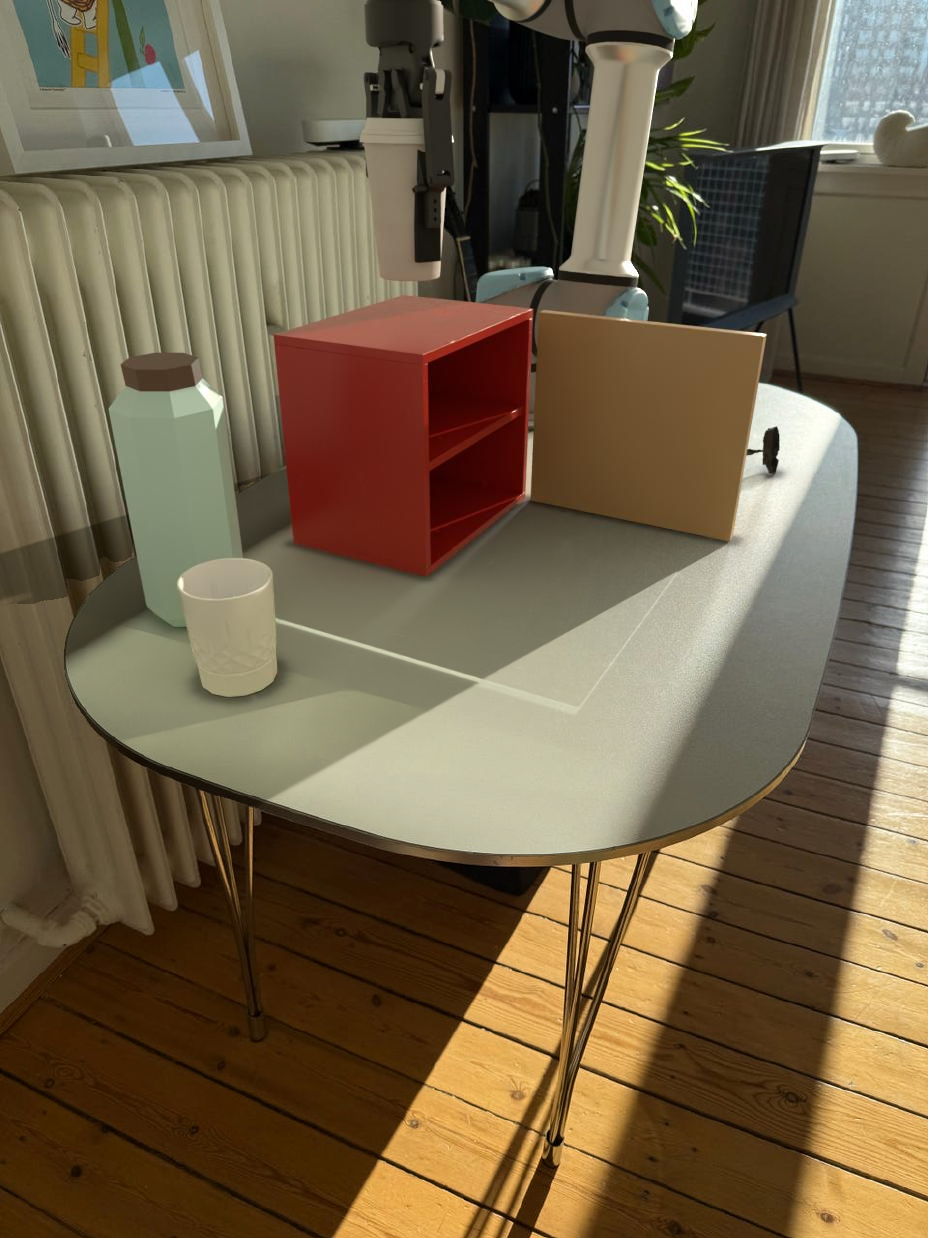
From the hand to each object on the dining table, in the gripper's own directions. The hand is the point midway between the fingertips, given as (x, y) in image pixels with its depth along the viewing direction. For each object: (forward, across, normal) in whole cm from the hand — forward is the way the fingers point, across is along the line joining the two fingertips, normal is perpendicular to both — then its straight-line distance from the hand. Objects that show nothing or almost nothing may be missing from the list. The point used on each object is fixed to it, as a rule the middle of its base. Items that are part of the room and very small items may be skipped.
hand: (409, 256), depth 96 cm
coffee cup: (+2, 0, 0) cm, 2 cm away
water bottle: (+31, -8, +30) cm, 44 cm away
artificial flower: (+31, -3, -44) cm, 54 cm away
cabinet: (+31, 0, 0) cm, 31 cm away
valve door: (+31, -12, -26) cm, 42 cm away
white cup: (+31, -22, +31) cm, 49 cm away
